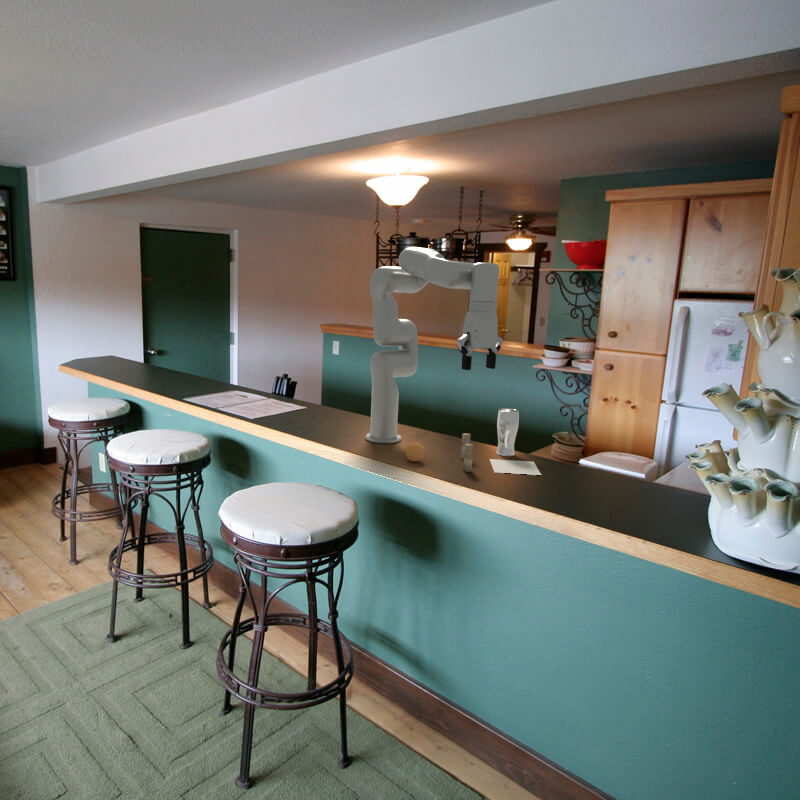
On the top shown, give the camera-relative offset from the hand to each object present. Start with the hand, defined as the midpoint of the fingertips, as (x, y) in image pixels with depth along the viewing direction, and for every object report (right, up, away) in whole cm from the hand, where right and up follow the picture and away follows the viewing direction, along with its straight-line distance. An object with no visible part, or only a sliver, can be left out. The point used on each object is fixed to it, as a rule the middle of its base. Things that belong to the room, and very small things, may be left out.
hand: (478, 369), depth 162 cm
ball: (-18, -25, +15) cm, 34 cm away
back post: (-1, -28, +21) cm, 35 cm away
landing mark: (+13, -30, +14) cm, 35 cm away
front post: (-2, -30, +8) cm, 31 cm away
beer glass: (+13, -27, +29) cm, 42 cm away
